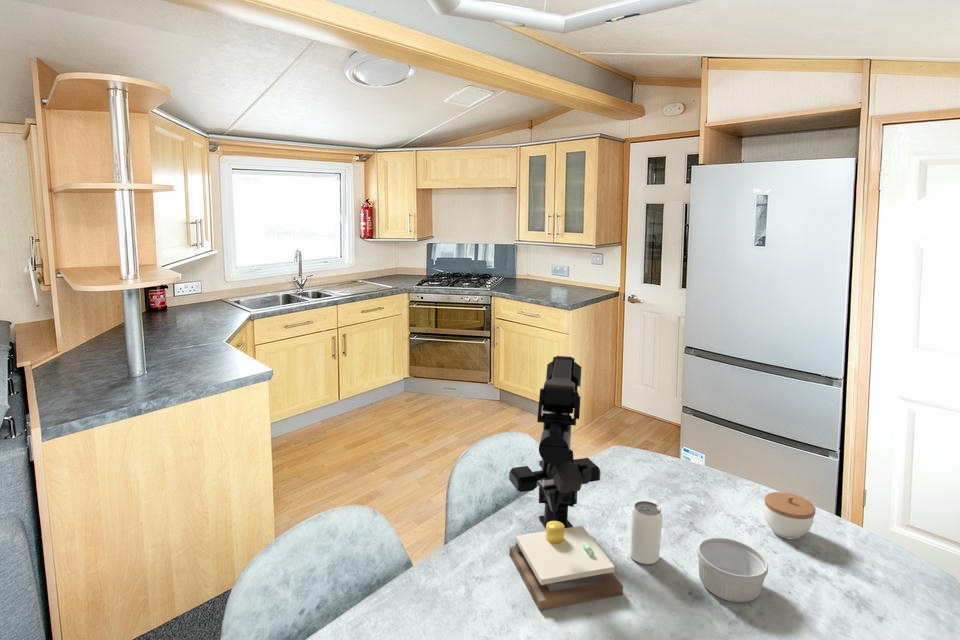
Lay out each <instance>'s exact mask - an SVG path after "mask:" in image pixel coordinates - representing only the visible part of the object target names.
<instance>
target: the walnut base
mask: <svg viewBox="0 0 960 640" xmlns="http://www.w3.org/2000/svg"><path fill="white" fill-rule="evenodd" d="M508 554H509V556H510V558H511V560H512V563H513V564H514V566H515V568H516V569H517V571H518V574H519V575H520V577H521V579H522V581H523V583H524V585H525V586H526V589H527V591H528V592H529V594H530V596H531V598H532V599H533V601H534V603H535V605H536V607H537V609H538V611H542V610H548V609H554V608H559V607H564V606H568V605H569V606H570V605H574V604H579V603H584V602H590V601H595V600H601V599H606V598H612V597H617V596H621V595H623V594H624V593H623V592H624V585H623V583H622V582H621V581H620V580H619V578H618V577H617V575H615V572H611V573H606V574H600V575H595V576H589V577H583V578H578V579H572V580H566V581H561V582H555V583H550V584H544V585H541V584H540V582H539V581H538V579H537V577H536V575H535V574H534V572H533V570H532V568H531V567H530V565H529V563H528V561H527V560H526V558H525V556H524V554H523V553H522V551H521V549H520V547H519V546H518V544H517V542H516V541H515V545H512V546H509V553H508Z"/></svg>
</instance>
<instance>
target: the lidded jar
mask: <svg viewBox="0 0 960 640" xmlns="http://www.w3.org/2000/svg"><path fill="white" fill-rule="evenodd" d="M763 507H764V508H763V512H764V513H763V514H764V518H765V521H766V524H767V525H768V526H769V528H770V529H771V531H772V530H773V531H772V532H773V534H775V533H776V534H775V535H777V534H778V535H779V537H780V536H782V537H781V538H783V537H785V538H784V539H786V538H791V539H790V540H796V539H795V538H798V537H799V538H800V537H802V536H805V535H806V534H808V532H809V531H810V530H811V527H812V525H813V523H814V520H815V518H814V517H815V515H816V510H817V509H816V507H815V505H814V504H813V503H812V502H810V501H809V500H807V499H806V498H804V497H801V496H799V495H796V494H793V493H789V492H783V491H776V492H775V491H773V492H769V493H767V494H766V495H764V506H763ZM778 535H777V536H778ZM799 538H798V539H799Z"/></svg>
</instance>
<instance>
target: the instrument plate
mask: <svg viewBox="0 0 960 640" xmlns="http://www.w3.org/2000/svg"><path fill="white" fill-rule="evenodd" d="M516 542H517V544H518V546H519V547H520V549H521V551H522V553H523V554H524V556H525V558H526V560H527V561H528V563H529V565H530V567H531V568H532V570H533V572H534V574H535V575H536V577H537V579H538V581H539V582H540V584H541V585H544V584H550V583H555V582H561V581H566V580H572V579H578V578H583V577H589V576H595V575H600V574H606V573H611V572H613V573H615V571H616V569H615V568H616V566H615V565H614V564H613V562H612V561H611V560H610V559H609V558H608V556H607V555H606V554H605V552H604V551H603V550H602V549H601V547H600V546H599V545H598V544H597V543H596V541H595V540H594V539H593V537H592V536H591V535H590V533H589V532H588V531H587V530H586V529H585V528H584V526H583V525H578V526H573V527H571V528H565V526H564V524H563V523H561V522H558V521H550V522H548V523H547V524H546V528H545V531H539V532H533V533H526V534H525V533H523V534H519V535H518V534H517V535H515V543H516Z"/></svg>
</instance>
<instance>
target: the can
mask: <svg viewBox="0 0 960 640" xmlns="http://www.w3.org/2000/svg"><path fill="white" fill-rule="evenodd" d="M662 526H663V514H662V508H661V507H660V506H659V505H658V504H657V503H654V502H652V501H647V500H646V501H645V500H644V501H643V500H641V501H638V502H635V504H634V508H633V509H632V510H631V521H630V532H629V533H630V535H629V545H628V548H629V549H628V554H629V556H630V557H631V559H632V560H633V561H635V562H636V563H638V564H641V565H647V566H648V565H654V564H655V563H657V562H658V561H659V559H660V552H661V551H660V549H661V539H662V529H663V527H662Z"/></svg>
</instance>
